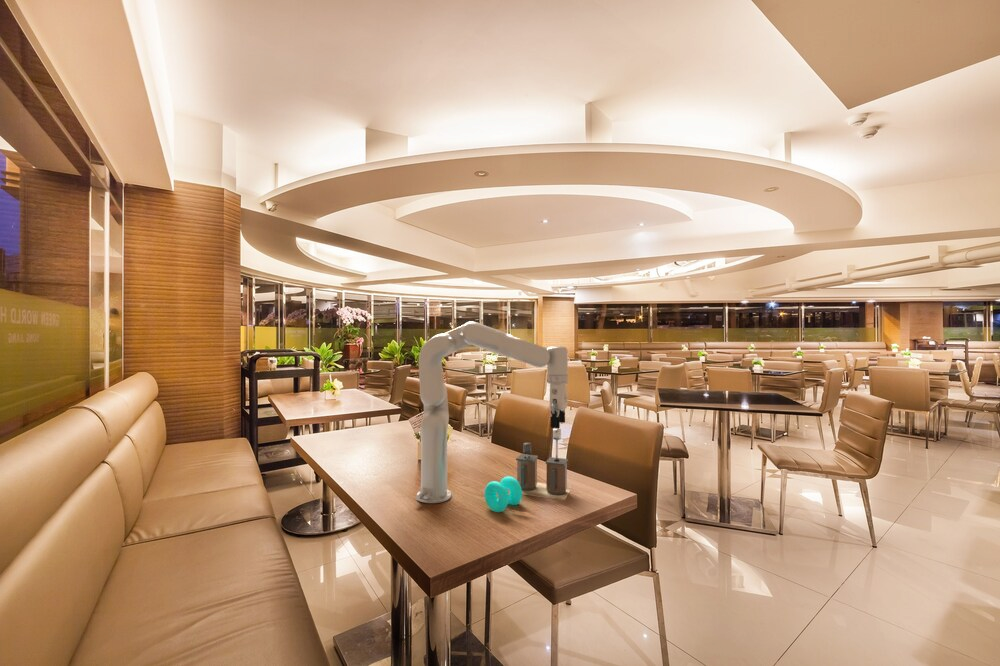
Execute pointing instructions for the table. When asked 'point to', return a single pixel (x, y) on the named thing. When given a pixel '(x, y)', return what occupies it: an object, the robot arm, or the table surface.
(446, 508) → the table surface
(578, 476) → the table surface
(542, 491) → the serving board
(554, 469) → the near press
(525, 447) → the far press
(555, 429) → the plunger
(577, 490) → the table surface
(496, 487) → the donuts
